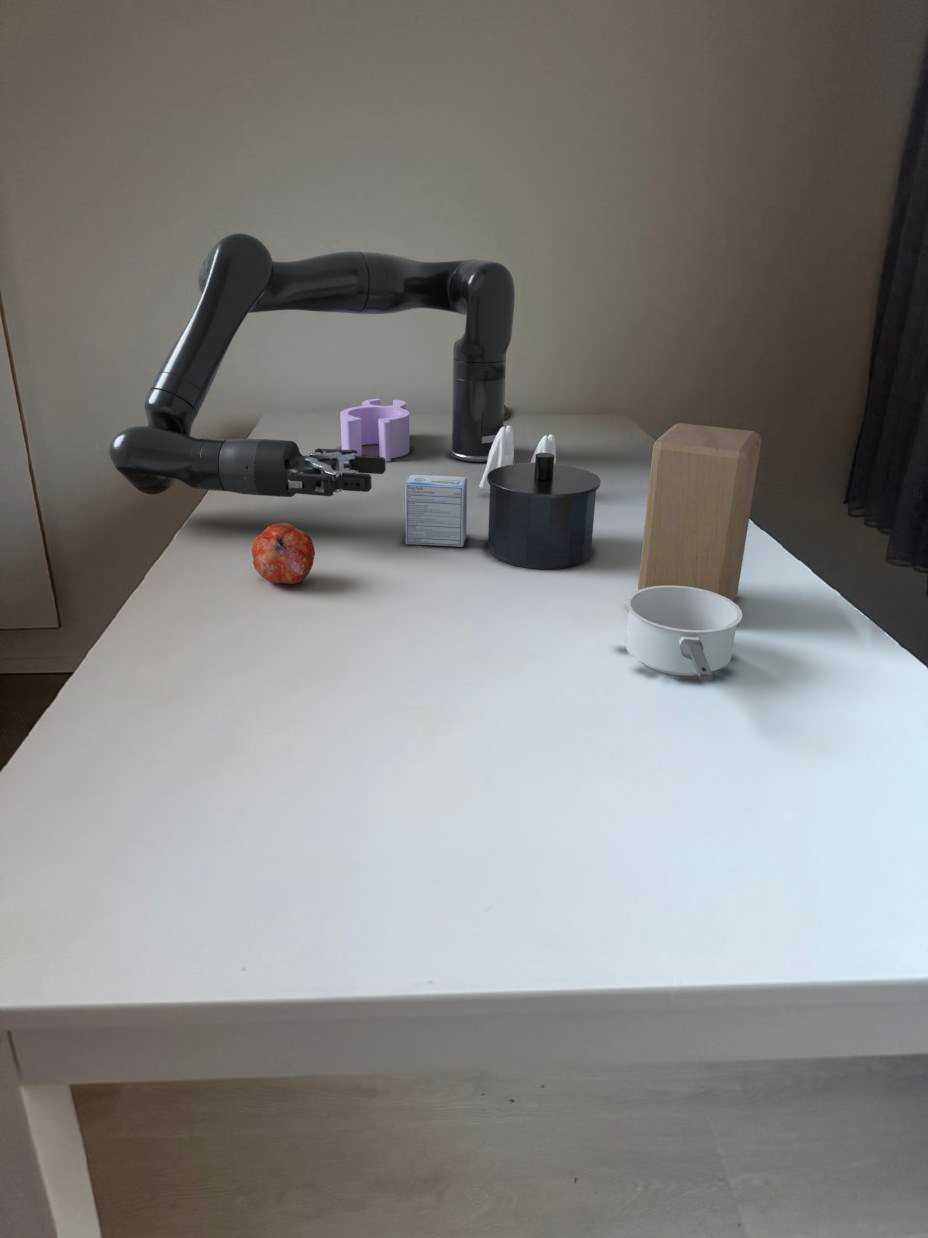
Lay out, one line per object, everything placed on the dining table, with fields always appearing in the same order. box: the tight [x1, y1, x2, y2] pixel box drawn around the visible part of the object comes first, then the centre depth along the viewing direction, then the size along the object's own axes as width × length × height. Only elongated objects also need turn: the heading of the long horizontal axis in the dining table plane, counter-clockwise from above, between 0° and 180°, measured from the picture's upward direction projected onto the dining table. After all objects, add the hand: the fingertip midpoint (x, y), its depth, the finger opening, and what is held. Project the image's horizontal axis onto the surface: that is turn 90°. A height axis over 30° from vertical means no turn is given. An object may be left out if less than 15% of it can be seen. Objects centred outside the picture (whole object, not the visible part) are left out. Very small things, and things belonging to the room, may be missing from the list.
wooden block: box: [637, 422, 762, 602], centre depth 101 cm, size 10×10×20 cm
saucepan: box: [625, 585, 743, 683], centre depth 88 cm, size 12×20×6 cm, turn 175°
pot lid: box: [487, 453, 601, 498], centre depth 116 cm, size 15×15×4 cm
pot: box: [487, 485, 597, 570], centre depth 119 cm, size 14×14×10 cm
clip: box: [339, 398, 410, 463], centre depth 168 cm, size 20×12×7 cm, turn 174°
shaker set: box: [479, 425, 557, 495], centre depth 141 cm, size 12×4×11 cm, turn 93°
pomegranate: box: [251, 522, 316, 585], centre depth 109 cm, size 7×7×10 cm
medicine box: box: [404, 474, 468, 548], centre depth 122 cm, size 8×4×9 cm, turn 84°
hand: (378, 474), depth 120 cm, fingers open, 8 cm apart
